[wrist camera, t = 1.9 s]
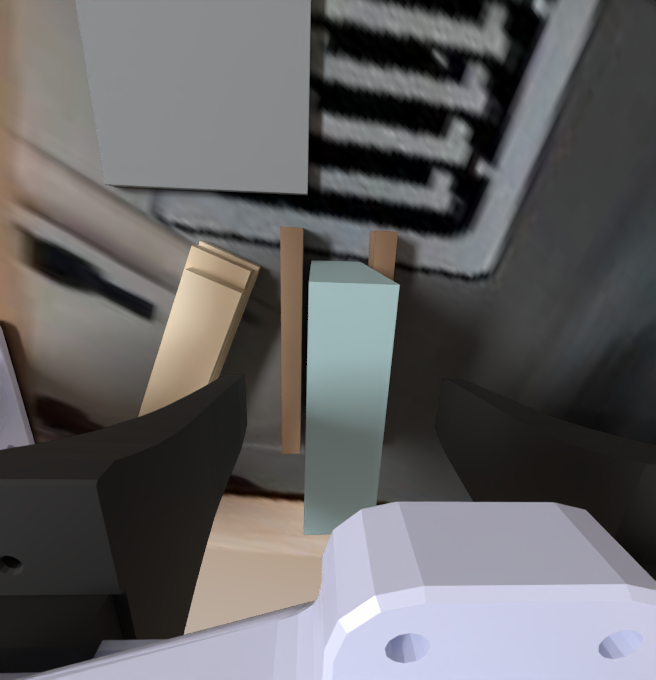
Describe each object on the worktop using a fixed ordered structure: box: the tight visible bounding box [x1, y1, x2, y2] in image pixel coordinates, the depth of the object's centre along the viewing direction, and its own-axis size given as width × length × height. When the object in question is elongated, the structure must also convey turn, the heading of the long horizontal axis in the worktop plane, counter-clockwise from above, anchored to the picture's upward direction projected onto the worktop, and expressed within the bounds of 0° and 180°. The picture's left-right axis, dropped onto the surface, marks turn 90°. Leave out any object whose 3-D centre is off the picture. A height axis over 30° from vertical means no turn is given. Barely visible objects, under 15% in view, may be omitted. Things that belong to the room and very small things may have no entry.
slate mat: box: [75, 0, 311, 195], centre depth 13 cm, size 9×11×1 cm
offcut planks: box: [138, 241, 261, 417], centre depth 16 cm, size 3×10×3 cm, turn 156°
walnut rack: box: [280, 227, 398, 454], centre depth 17 cm, size 5×12×2 cm, turn 178°
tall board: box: [304, 260, 400, 535], centre depth 14 cm, size 2×9×8 cm, turn 178°
